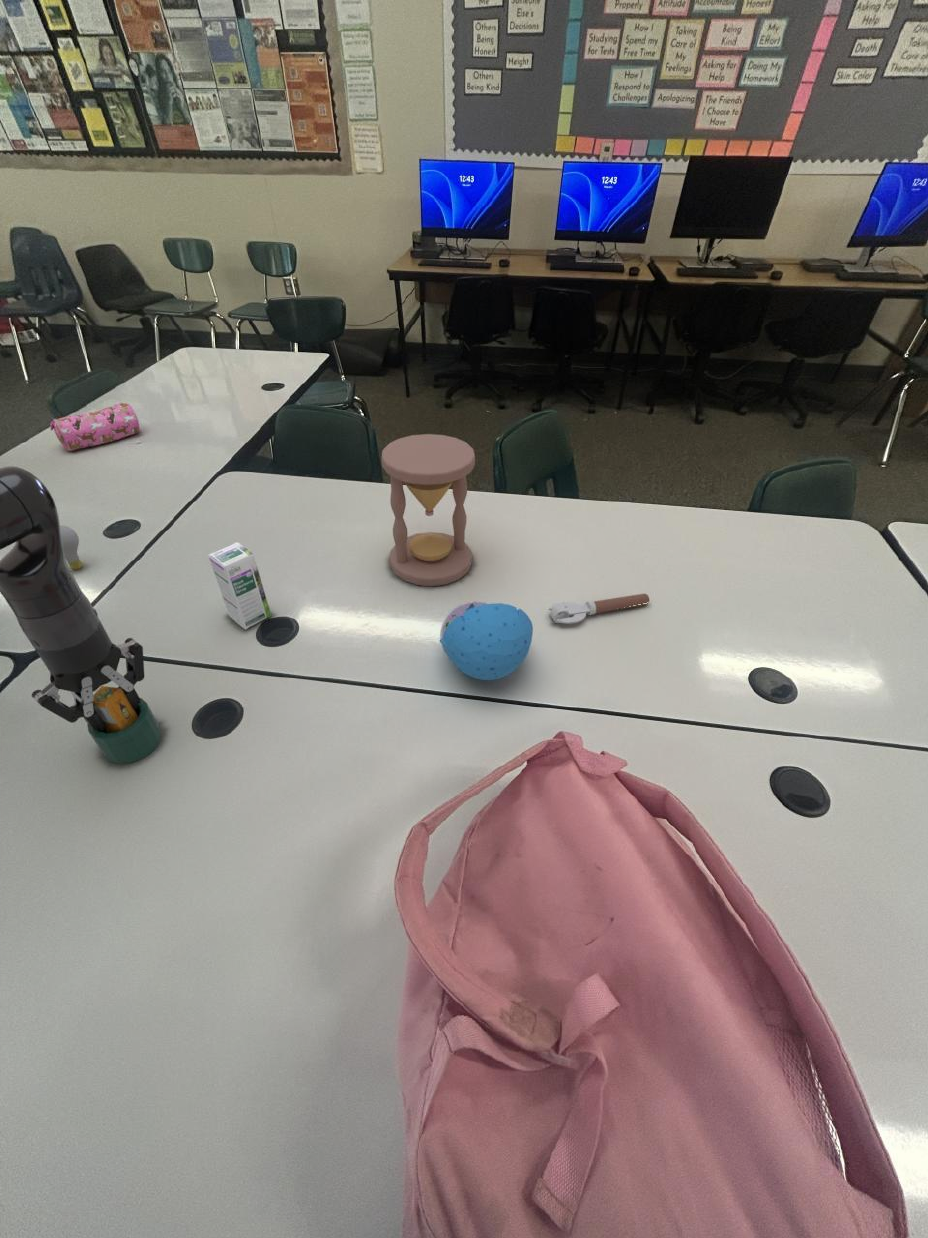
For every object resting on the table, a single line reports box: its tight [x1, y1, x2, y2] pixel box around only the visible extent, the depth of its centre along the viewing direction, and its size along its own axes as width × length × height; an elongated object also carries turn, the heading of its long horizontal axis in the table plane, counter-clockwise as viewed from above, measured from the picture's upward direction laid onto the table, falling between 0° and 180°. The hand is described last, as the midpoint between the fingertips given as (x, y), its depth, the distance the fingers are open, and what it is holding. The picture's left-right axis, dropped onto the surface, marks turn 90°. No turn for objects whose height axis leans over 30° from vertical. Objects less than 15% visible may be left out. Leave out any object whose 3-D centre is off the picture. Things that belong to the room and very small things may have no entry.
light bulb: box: [60, 524, 83, 570], centre depth 114 cm, size 5×6×10 cm
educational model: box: [439, 601, 534, 681], centre depth 94 cm, size 16×19×15 cm
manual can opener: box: [548, 593, 650, 624], centre depth 109 cm, size 21×6×3 cm, turn 112°
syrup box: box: [207, 541, 272, 630], centre depth 102 cm, size 6×6×14 cm
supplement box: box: [93, 685, 139, 733], centre depth 81 cm, size 3×3×10 cm
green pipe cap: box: [86, 697, 162, 765], centre depth 83 cm, size 8×8×6 cm
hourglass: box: [381, 433, 476, 587], centre depth 113 cm, size 18×18×25 cm
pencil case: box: [49, 402, 141, 452], centre depth 162 cm, size 21×9×9 cm, turn 137°
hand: (117, 716), depth 81 cm, fingers closed on supplement box, 4 cm apart
